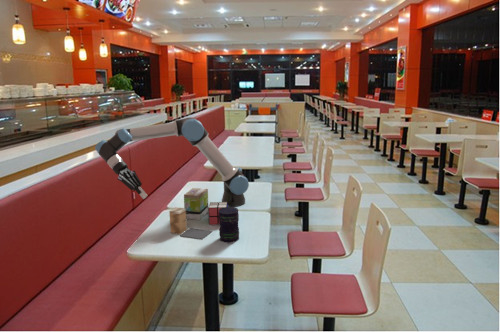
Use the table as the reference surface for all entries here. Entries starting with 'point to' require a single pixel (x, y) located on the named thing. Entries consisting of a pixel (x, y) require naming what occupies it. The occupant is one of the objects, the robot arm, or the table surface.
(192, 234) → the mat
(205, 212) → the tea box
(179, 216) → the oak block
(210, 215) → the puzzle cube
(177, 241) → the table surface
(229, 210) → the storage jar
